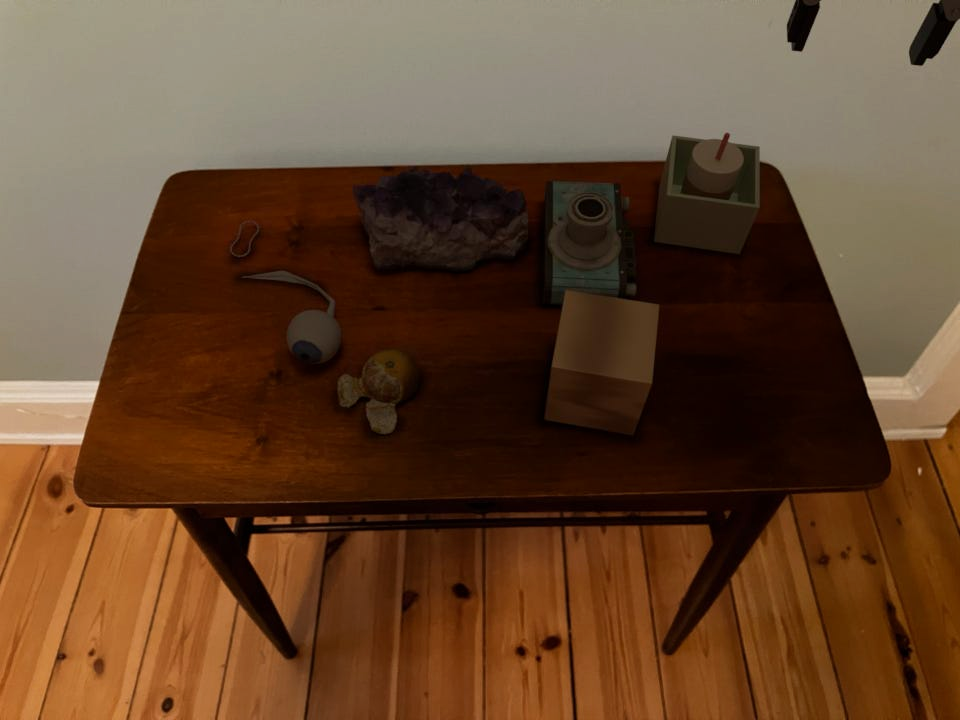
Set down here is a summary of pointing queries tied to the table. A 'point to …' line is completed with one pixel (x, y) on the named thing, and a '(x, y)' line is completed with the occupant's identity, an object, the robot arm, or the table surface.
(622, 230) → the camera
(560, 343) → the stand
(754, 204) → the bin
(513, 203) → the geode
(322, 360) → the novelty item
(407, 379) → the fruit
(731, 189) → the paper cup
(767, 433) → the table surface
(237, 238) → the necklace
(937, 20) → the robot arm
